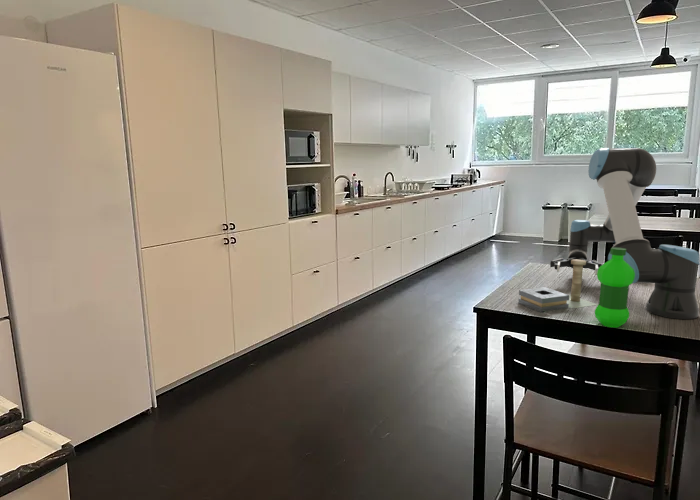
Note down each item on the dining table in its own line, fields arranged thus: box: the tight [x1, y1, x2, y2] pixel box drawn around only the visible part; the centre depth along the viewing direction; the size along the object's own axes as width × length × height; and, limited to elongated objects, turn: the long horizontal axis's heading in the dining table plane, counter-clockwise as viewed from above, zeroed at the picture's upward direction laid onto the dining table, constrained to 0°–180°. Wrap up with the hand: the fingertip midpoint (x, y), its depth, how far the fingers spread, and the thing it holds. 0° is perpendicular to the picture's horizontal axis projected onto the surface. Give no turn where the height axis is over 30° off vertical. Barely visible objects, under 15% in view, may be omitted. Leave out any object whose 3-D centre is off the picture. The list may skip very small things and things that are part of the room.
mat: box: [567, 294, 599, 309], centre depth 180 cm, size 14×12×1 cm
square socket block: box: [517, 286, 570, 313], centre depth 175 cm, size 12×12×5 cm
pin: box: [570, 259, 586, 302], centre depth 179 cm, size 5×5×15 cm
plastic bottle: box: [594, 247, 635, 329], centre depth 153 cm, size 10×10×25 cm
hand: (577, 270), depth 188 cm, fingers open, 13 cm apart
